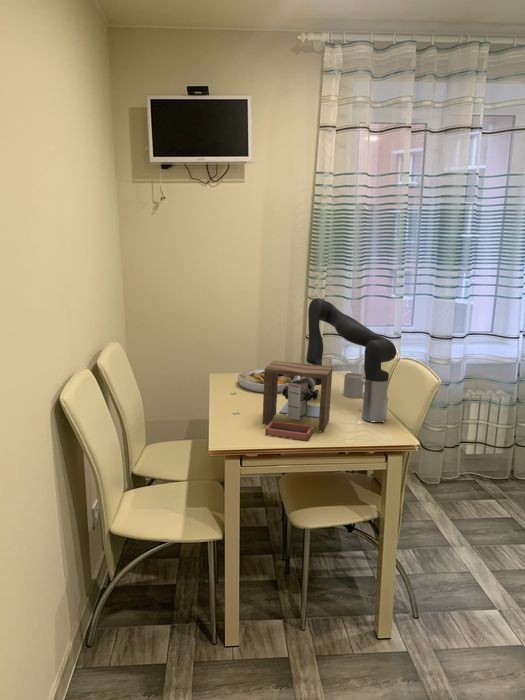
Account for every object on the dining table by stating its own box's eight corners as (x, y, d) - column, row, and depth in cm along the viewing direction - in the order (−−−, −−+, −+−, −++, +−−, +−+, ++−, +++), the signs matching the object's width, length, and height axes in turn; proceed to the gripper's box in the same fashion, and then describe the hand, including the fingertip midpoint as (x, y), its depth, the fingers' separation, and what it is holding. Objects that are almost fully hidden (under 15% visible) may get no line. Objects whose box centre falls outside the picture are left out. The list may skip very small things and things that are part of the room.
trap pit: (271, 427, 200) (271, 420, 200) (312, 432, 196) (312, 426, 196) (265, 435, 192) (265, 428, 191) (307, 441, 188) (308, 434, 187)
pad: (286, 403, 229) (286, 402, 229) (327, 408, 225) (327, 407, 225) (279, 413, 216) (279, 412, 216) (322, 418, 211) (322, 417, 211)
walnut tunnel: (271, 413, 216) (273, 360, 211) (328, 420, 210) (332, 366, 205) (262, 424, 203) (264, 368, 198) (323, 432, 197) (327, 375, 192)
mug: (341, 392, 249) (342, 372, 247) (360, 392, 250) (362, 372, 248) (347, 399, 239) (348, 378, 237) (367, 399, 240) (369, 378, 238)
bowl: (270, 399, 236) (271, 382, 234) (224, 385, 256) (225, 369, 254) (310, 387, 258) (311, 371, 256) (265, 375, 277) (266, 360, 276)
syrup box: (299, 420, 202) (300, 384, 199) (286, 417, 206) (288, 382, 203) (307, 416, 207) (308, 381, 204) (294, 413, 210) (296, 379, 207)
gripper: (288, 376, 219) (279, 386, 204) (322, 379, 215) (315, 390, 200) (287, 393, 221) (278, 405, 205) (321, 397, 217) (314, 409, 202)
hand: (296, 398), depth 203 cm, fingers closed on syrup box, 7 cm apart
